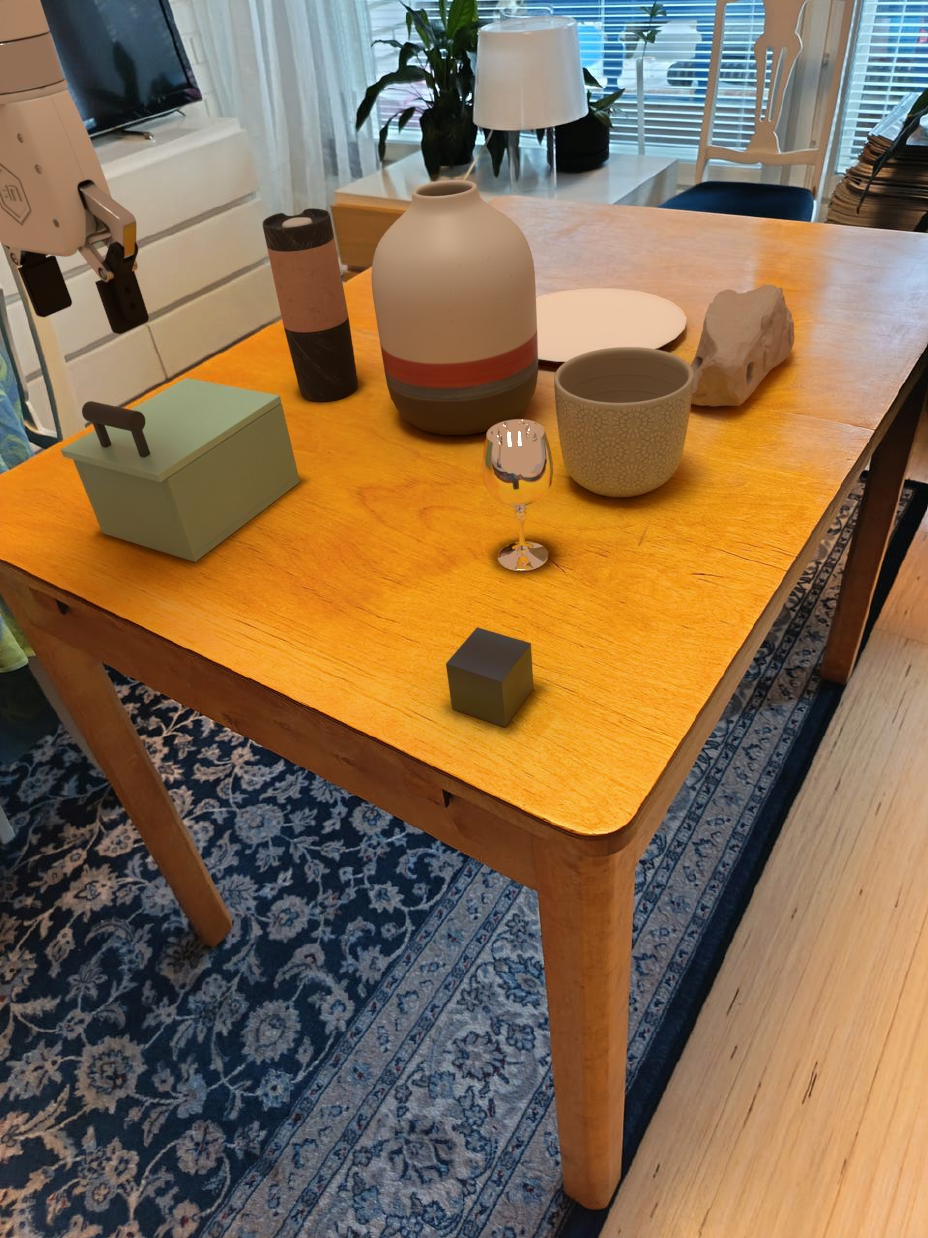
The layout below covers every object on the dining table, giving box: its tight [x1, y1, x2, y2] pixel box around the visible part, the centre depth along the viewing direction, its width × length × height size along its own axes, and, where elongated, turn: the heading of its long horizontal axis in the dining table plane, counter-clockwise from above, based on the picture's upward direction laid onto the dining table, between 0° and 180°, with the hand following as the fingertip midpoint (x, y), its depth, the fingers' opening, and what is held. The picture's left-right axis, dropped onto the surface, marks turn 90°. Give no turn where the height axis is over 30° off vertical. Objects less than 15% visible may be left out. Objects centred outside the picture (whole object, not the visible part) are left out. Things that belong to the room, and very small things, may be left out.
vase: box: [370, 179, 539, 436], centre depth 96 cm, size 17×17×24 cm
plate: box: [536, 287, 688, 365], centre depth 117 cm, size 25×25×2 cm
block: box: [445, 626, 534, 728], centre depth 64 cm, size 4×4×4 cm
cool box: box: [72, 402, 301, 563], centre depth 89 cm, size 16×13×9 cm
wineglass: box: [481, 418, 554, 572], centre depth 76 cm, size 6×6×12 cm
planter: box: [553, 347, 694, 498], centre depth 85 cm, size 12×12×11 cm
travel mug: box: [262, 207, 359, 403], centre depth 105 cm, size 8×8×20 cm
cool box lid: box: [60, 377, 282, 482], centre depth 84 cm, size 16×13×5 cm
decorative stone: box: [689, 284, 795, 407], centre depth 99 cm, size 20×8×10 cm, turn 145°
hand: (92, 319), depth 72 cm, fingers open, 9 cm apart
